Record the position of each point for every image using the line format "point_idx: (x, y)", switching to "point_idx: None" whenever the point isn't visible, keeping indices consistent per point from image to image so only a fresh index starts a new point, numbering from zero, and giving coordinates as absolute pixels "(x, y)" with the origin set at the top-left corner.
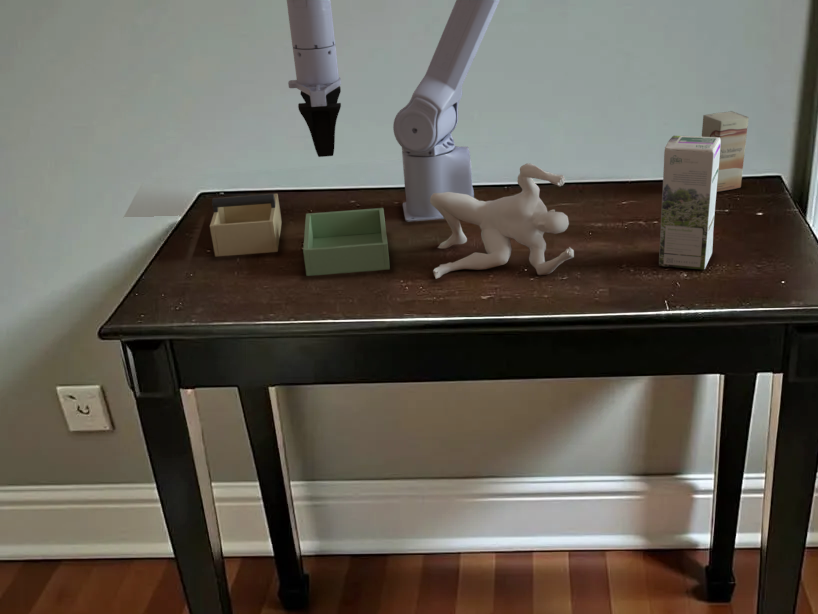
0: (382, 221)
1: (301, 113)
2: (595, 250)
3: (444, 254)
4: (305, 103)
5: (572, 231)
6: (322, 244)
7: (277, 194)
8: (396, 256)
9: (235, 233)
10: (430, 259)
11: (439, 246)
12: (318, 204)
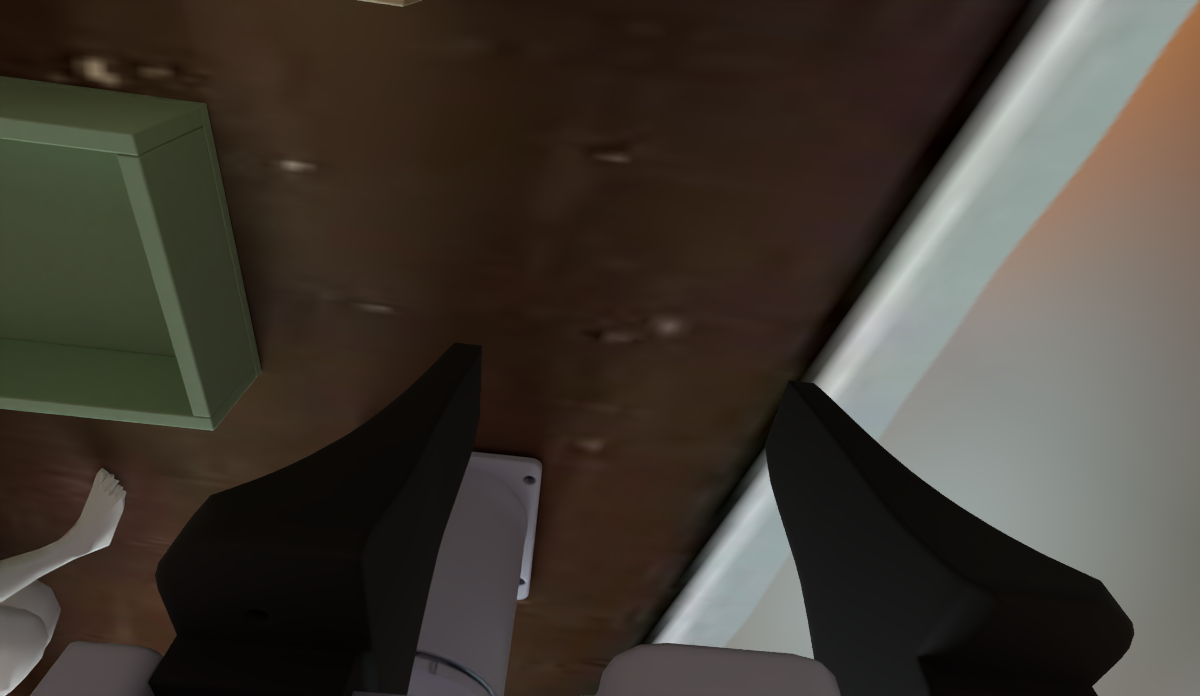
0: (39, 407)
1: (205, 502)
2: None
3: (73, 475)
4: (331, 605)
5: None
6: (103, 152)
7: (388, 4)
8: None
9: None
10: (25, 440)
11: (106, 479)
12: (695, 197)
